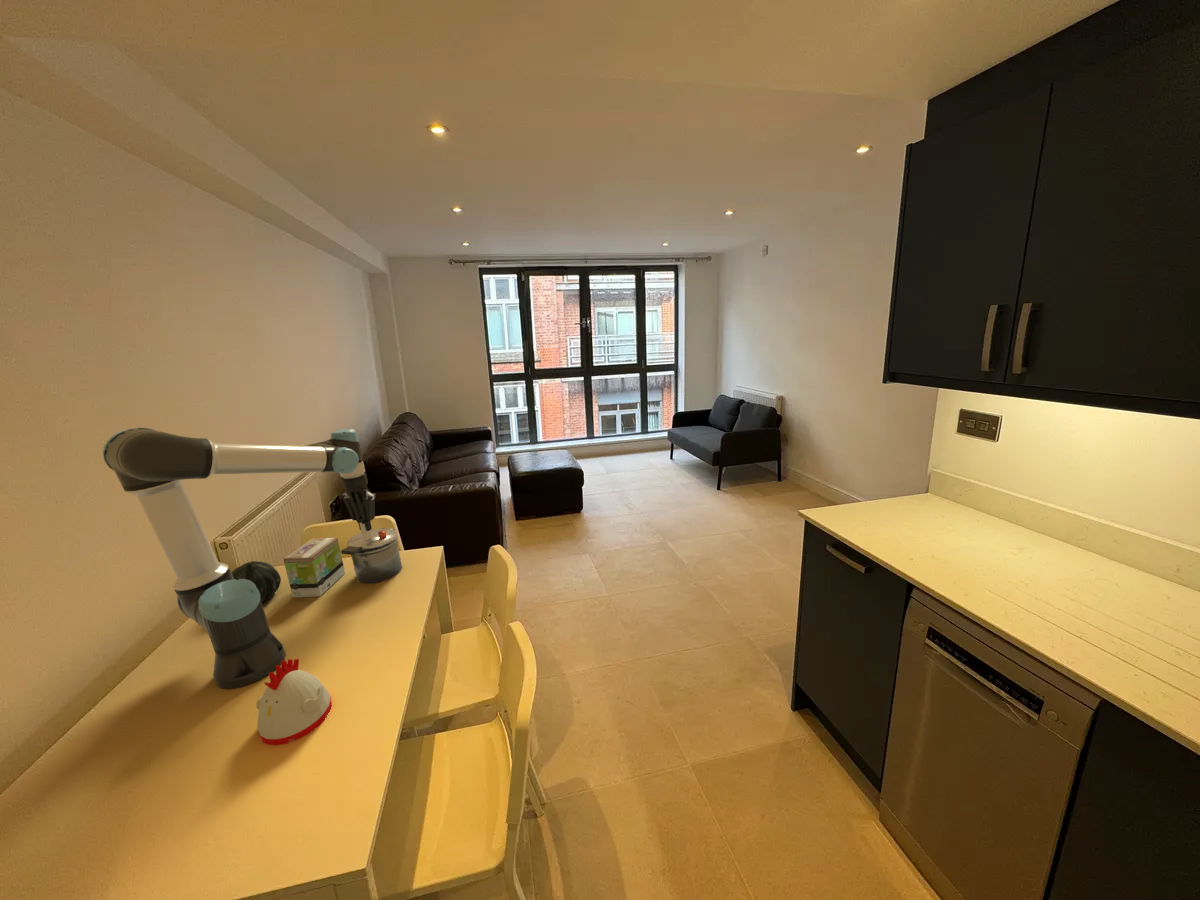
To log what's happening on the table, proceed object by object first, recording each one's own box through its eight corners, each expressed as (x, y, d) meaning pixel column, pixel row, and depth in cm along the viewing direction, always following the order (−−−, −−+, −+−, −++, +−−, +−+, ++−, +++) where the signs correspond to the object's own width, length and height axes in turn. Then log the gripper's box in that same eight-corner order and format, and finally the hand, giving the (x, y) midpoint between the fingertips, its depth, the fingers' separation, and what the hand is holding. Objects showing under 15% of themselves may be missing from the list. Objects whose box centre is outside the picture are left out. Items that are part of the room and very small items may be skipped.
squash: (236, 576, 159) (217, 559, 147) (286, 567, 164) (273, 550, 152) (232, 617, 152) (213, 603, 140) (285, 605, 157) (271, 591, 145)
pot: (382, 586, 156) (375, 554, 153) (345, 582, 161) (338, 551, 157) (414, 561, 172) (408, 532, 169) (380, 558, 176) (373, 529, 173)
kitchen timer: (243, 743, 98) (223, 685, 94) (293, 692, 112) (277, 640, 107) (301, 747, 96) (283, 689, 92) (345, 696, 109) (331, 642, 105)
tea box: (321, 597, 152) (311, 557, 148) (292, 598, 153) (281, 558, 149) (346, 573, 167) (337, 536, 163) (319, 574, 167) (310, 537, 163)
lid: (367, 556, 149) (365, 546, 149) (328, 552, 154) (326, 542, 153) (408, 532, 168) (406, 523, 167) (372, 529, 173) (370, 520, 172)
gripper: (377, 471, 155) (391, 535, 162) (346, 470, 159) (360, 532, 165) (360, 479, 148) (375, 545, 155) (328, 478, 152) (344, 542, 158)
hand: (368, 538), depth 160 cm, fingers closed
